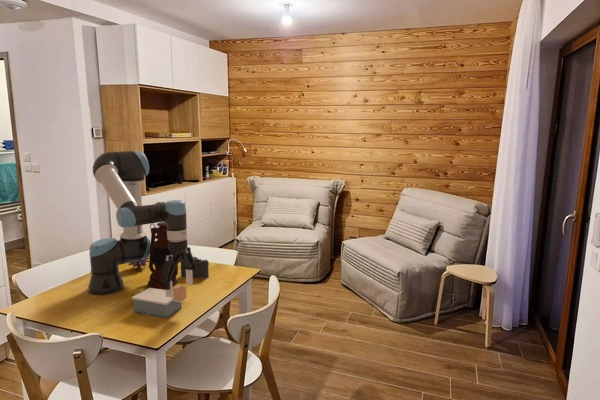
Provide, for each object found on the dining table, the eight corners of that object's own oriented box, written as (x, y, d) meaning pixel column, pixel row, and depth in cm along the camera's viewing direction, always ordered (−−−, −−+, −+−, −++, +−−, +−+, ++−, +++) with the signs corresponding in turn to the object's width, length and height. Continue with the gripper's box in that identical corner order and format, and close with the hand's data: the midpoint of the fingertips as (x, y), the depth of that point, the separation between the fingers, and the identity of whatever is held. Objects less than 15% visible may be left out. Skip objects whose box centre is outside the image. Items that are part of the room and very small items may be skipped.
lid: (132, 301, 167) (131, 285, 165) (149, 292, 177) (148, 276, 175) (176, 309, 160) (175, 292, 159) (191, 298, 170) (191, 283, 169)
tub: (134, 312, 168) (133, 298, 167) (150, 302, 177) (149, 289, 176) (166, 318, 163) (166, 304, 162) (181, 308, 172) (181, 294, 171)
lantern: (138, 283, 195) (139, 223, 191) (158, 275, 208) (159, 218, 204) (167, 291, 189) (169, 228, 185) (186, 282, 202) (188, 223, 198)
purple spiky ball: (145, 272, 214) (144, 250, 212) (123, 272, 214) (121, 250, 212) (153, 265, 225) (152, 244, 223) (132, 265, 226) (131, 244, 224)
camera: (213, 271, 217) (212, 253, 215) (206, 278, 206) (206, 260, 204) (187, 270, 218) (186, 252, 216) (179, 277, 207) (178, 259, 206)
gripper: (165, 248, 148) (168, 303, 151) (202, 233, 171) (204, 281, 175) (148, 246, 150) (151, 301, 154) (187, 231, 174) (189, 279, 177)
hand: (179, 290), depth 164 cm, fingers open, 13 cm apart
